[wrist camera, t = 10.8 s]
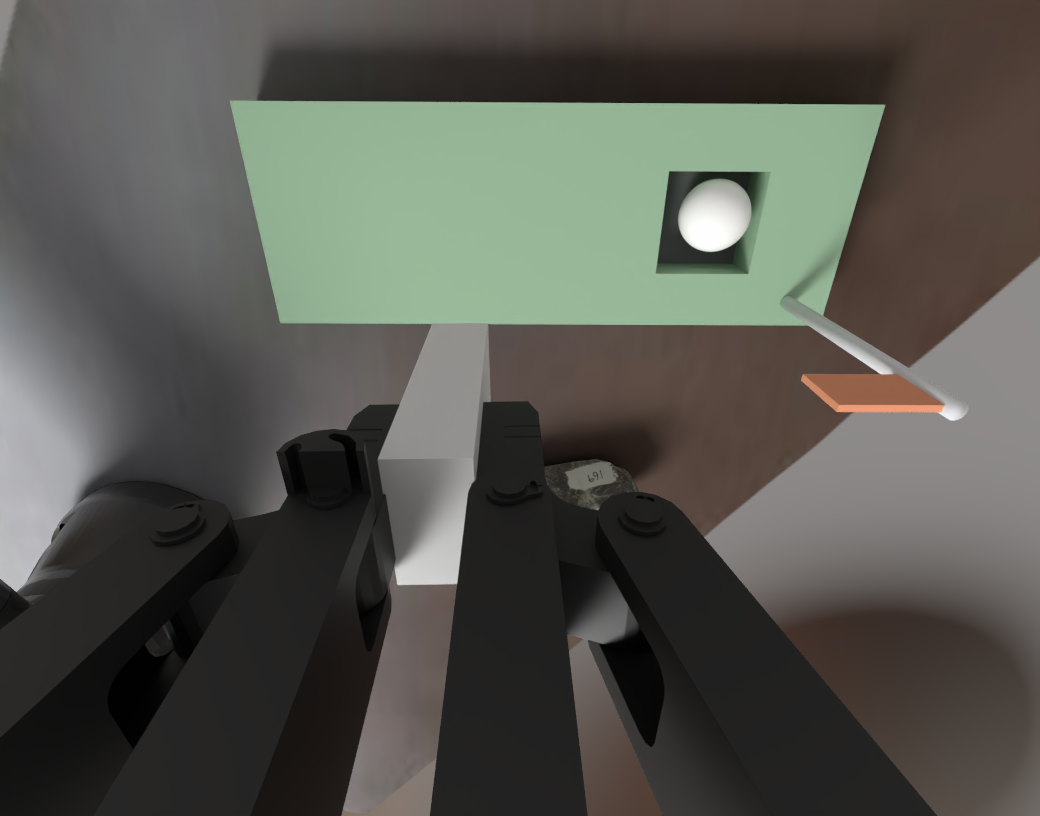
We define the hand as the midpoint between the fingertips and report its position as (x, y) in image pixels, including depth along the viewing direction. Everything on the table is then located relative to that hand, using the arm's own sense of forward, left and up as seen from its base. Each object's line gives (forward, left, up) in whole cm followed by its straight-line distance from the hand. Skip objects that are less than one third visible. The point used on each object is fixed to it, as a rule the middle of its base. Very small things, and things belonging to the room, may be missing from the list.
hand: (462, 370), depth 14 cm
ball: (+13, +2, -19) cm, 23 cm away
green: (+4, +1, -21) cm, 21 cm away
